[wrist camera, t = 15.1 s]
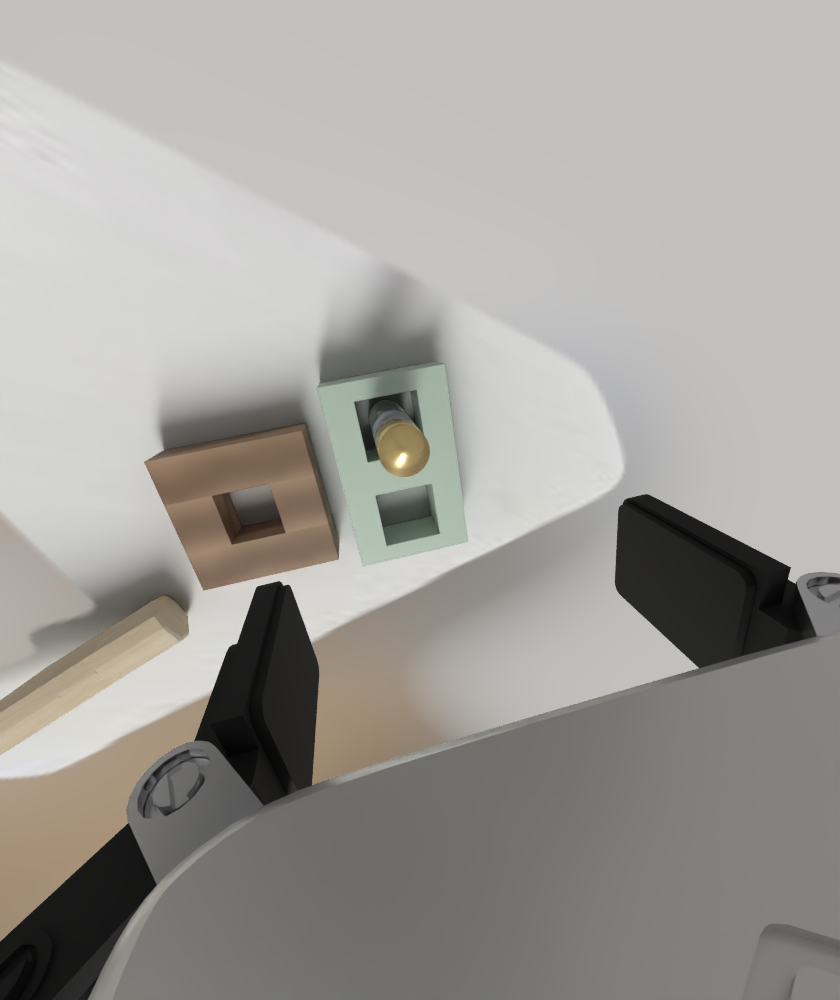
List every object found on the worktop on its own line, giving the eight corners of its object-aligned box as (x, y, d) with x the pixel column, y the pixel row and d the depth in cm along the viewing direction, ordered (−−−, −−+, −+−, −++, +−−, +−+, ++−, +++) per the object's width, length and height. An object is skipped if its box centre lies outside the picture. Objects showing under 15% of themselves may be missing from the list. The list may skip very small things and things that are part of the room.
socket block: (163, 450, 33) (144, 462, 30) (305, 422, 34) (301, 430, 31) (215, 569, 38) (203, 590, 35) (339, 541, 39) (338, 559, 36)
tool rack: (319, 383, 33) (316, 388, 30) (434, 361, 34) (444, 364, 31) (361, 545, 40) (362, 566, 36) (457, 523, 41) (468, 541, 37)
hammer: (131, 646, 29) (-351, 955, 23) (175, 686, 31) (-261, 979, 25) (173, 562, 43) (-122, 742, 38) (202, 592, 45) (-75, 768, 39)
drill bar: (365, 403, 35) (374, 432, 24) (401, 396, 35) (425, 422, 24) (372, 438, 36) (384, 481, 25) (407, 431, 36) (433, 471, 25)
